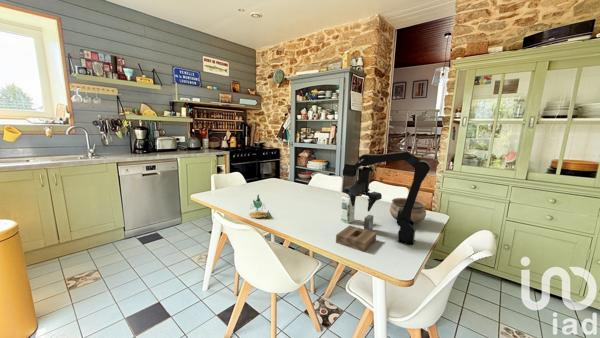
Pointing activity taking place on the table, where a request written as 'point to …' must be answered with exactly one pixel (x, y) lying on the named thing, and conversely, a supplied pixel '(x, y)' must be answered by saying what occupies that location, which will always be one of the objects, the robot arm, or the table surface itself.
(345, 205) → the syrup box
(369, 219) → the upright grey stone slab
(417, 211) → the cooking pot
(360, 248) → the post block
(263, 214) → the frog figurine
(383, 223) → the table surface
